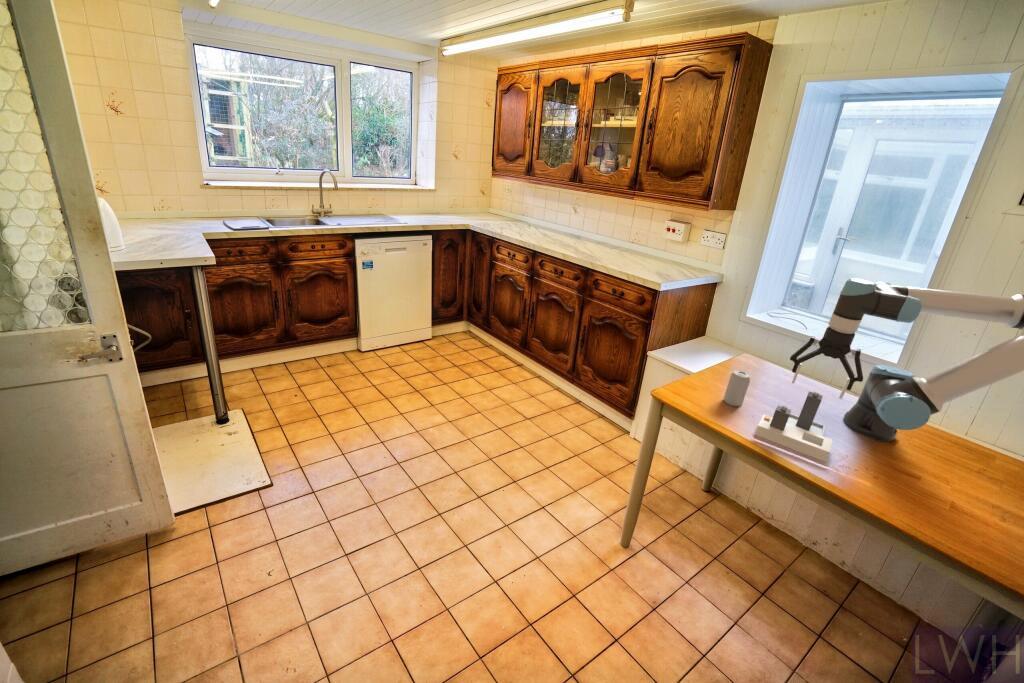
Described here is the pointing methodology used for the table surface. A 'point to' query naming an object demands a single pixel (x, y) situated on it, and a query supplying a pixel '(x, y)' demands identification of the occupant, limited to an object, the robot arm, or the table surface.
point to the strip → (793, 435)
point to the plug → (809, 410)
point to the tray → (814, 427)
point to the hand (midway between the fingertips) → (816, 389)
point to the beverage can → (737, 388)
